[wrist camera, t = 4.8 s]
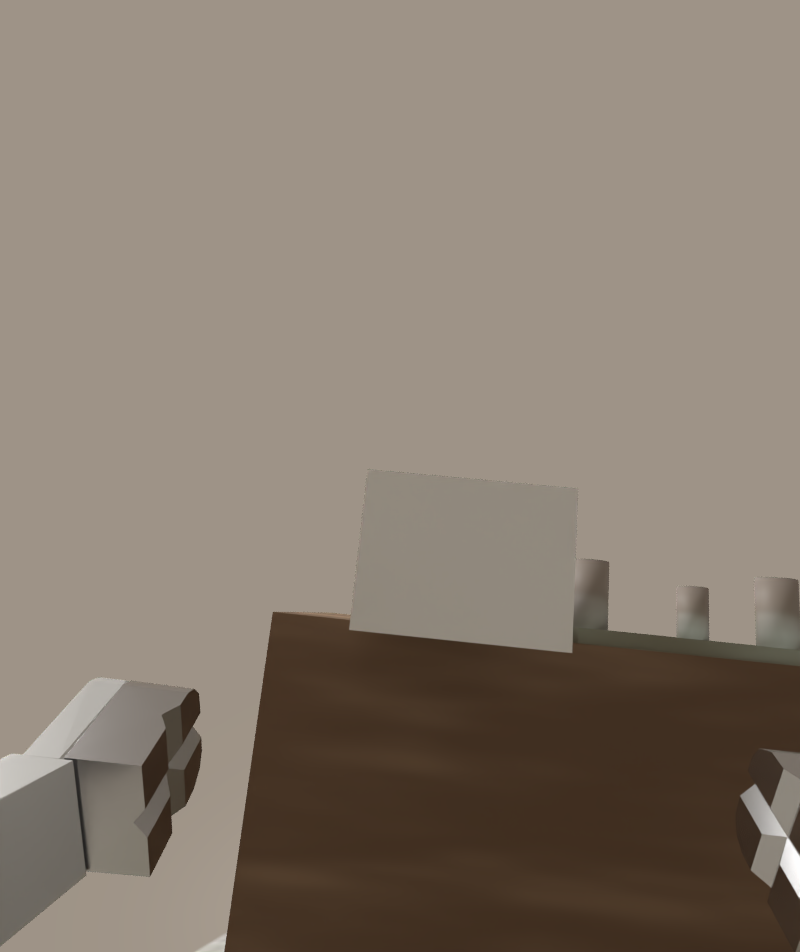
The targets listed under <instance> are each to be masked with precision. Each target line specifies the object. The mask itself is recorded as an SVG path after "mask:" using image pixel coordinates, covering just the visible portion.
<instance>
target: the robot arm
mask: <svg viewBox="0 0 800 952" xmlns="http://www.w3.org/2000/svg"><path fill="white" fill-rule="evenodd" d="M199 714H200V702H199V693H198V692H197V691H196V690H195V689H191V688H183V687H175V686H168V685H160V684H152V683H144V682H137V681H130V682H129V681H125V680H117V679H109V678H100V677H99V678H96V679H93V680H91V681H89V682H88V683H87V684H86V685H85V686H84V688H83V689H82V690H81V691H80V692H79V693H78V694H77V695H76V696H75V697H74V698H73V700H72V701H71V702H70V703H69V704H68V705H67V706H66V707H65V708H64V709H63V711H62V712H61V713H60V714H59V715H58V716H57V717H56V718H55V719H54V721H53V722H52V723H51V724H50V725H49V726H48V727H47V728H46V729H45V731H44V732H43V733H42V734H41V735H40V736H39V737H38V738H37V739H36V741H35V742H34V743H33V744H32V745H31V746H30V747H29V748H28V749H27V750H26V752H25V753H24V754H23V755H21V754H10V755H8V756H6V757H4V758H2V759H0V946H1V945H2V944H4V943H5V942H6V941H7V940H9V939H10V938H11V937H12V936H13V935H15V934H16V933H17V932H18V931H19V930H21V929H22V928H23V927H24V926H25V925H27V924H28V923H29V922H30V921H32V920H33V919H34V918H35V917H36V916H38V915H39V914H40V913H41V912H43V911H44V910H45V909H46V908H47V907H49V906H50V905H51V904H52V903H53V902H54V901H56V900H57V899H58V898H60V897H61V896H62V895H63V894H64V893H66V892H67V891H68V890H69V889H70V888H71V887H73V886H74V885H75V884H76V883H78V882H79V881H80V880H81V879H83V878H84V877H85V876H86V871H88V872H101V873H111V874H123V875H135V876H146V877H150V876H151V874H152V872H153V870H154V868H155V866H156V864H157V862H158V860H159V858H160V856H161V854H162V852H163V850H164V848H165V846H166V844H167V842H168V840H169V838H170V836H171V834H172V822H171V816H172V815H173V814H175V813H176V812H178V811H179V810H180V809H182V808H183V807H185V806H186V804H187V802H188V800H189V798H190V795H191V793H192V791H193V789H194V786H195V782H196V779H197V776H198V772H199V768H200V761H201V752H202V749H201V748H202V747H201V736H200V735H199V734H198V733H197V731H196V730H195V729H194V727H193V725H194V723H195V721H196V719H197V717H198V716H199ZM748 772H749V774H750V776H751V778H752V780H753V782H754V783H755V785H753V786H752V787H751V788H749V789H748V790H747V791H745V792H744V793H743V794H742V795H740V798H739V802H738V806H737V810H736V814H735V819H736V833H737V839H738V842H739V845H740V848H741V852H742V854H743V856H744V858H745V860H746V862H747V864H748V866H749V868H750V870H751V871H752V872H753V873H754V874H756V875H757V876H758V877H759V878H760V879H761V880H763V881H764V882H765V883H766V884H767V885H769V886H770V887H771V888H770V892H769V897H768V901H767V902H768V904H769V906H770V908H771V910H772V912H773V914H774V916H775V918H776V919H777V921H778V923H779V925H780V927H781V929H782V931H783V933H784V934H785V936H786V938H787V940H788V942H789V944H790V946H791V948H792V950H793V951H794V952H800V752H791V751H781V750H771V749H761V748H759V750H758V751H757V752H756V753H755V754H754V755H753V756H752V759H751V762H750V765H749V768H748Z"/></svg>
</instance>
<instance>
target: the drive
mask: <svg viewBox="0 0 800 952" xmlns="http://www.w3.org/2000/svg"><path fill="white" fill-rule="evenodd" d="M577 505H578V488H567V487H556V486H546V485H534V484H524V483H513V482H502V481H491V480H480V479H470V478H459V477H458V478H457V477H448V476H436V475H426V474H415V473H404V472H393V471H382V470H371V469H368V470H367V478H366V487H365V495H364V504H363V513H362V522H361V531H360V540H359V548H358V556H357V565H356V574H355V583H354V591H353V600H352V609H351V617H350V626H349V630H355V631H364V632H374V633H384V634H393V635H403V636H412V637H422V638H432V639H441V640H451V641H460V642H470V643H480V644H489V645H499V646H508V647H518V648H528V649H537V650H547V651H556V652H566V653H572V645H573V617H574V589H575V561H576V533H577Z"/></svg>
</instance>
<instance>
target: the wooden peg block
mask: <svg viewBox="0 0 800 952" xmlns="http://www.w3.org/2000/svg"><path fill="white" fill-rule="evenodd" d="M754 587H755V621H756V646H754V645H744V644H735V643H725V642H715V641H709V591H708V590H709V589H708V588H704V587H695V586H677V638H675V637H666V636H656V635H647V634H637V633H627V632H617V631H608V590H609V562H607V561H602V560H594V559H576V561H575V589H574V617H573V645H572V653H566V652H556V651H547V650H537V649H528V648H518V647H508V646H499V645H489V644H480V643H470V642H460V641H451V640H441V639H432V638H422V637H412V636H403V635H393V634H384V633H374V632H364V631H355V630H349V626H350V617H351V615H347V614H337V613H306V612H273V615H272V622H271V630H270V636H269V643H268V650H267V657H266V664H265V671H264V678H263V685H262V693H261V699H260V706H259V714H258V720H257V727H256V734H255V741H254V748H253V755H252V762H251V769H250V776H249V783H248V790H247V797H246V804H245V811H244V819H243V826H242V833H241V839H240V846H239V853H238V860H237V868H236V875H235V882H234V888H233V895H232V902H231V909H230V916H229V923H228V930H227V937H226V944H225V951H224V952H794V951H793V950H792V948H791V946H790V944H789V942H788V940H787V938H786V936H785V934H784V933H783V931H782V929H781V927H780V925H779V923H778V921H777V919H776V918H775V916H774V914H773V912H772V910H771V908H770V906H769V904H768V902H767V901H768V897H769V892H770V888H771V887H770V886H769V885H767V884H766V883H765V882H764V881H763V880H761V879H760V878H759V877H758V876H757V875H756V874H754V873H753V872H752V871H751V870H750V868H749V866H748V864H747V862H746V860H745V858H744V856H743V854H742V852H741V848H740V845H739V842H738V839H737V833H736V819H735V814H736V810H737V806H738V802H739V798H740V795H742V794H743V793H744V792H745V791H747V790H748V789H749V788H751V787H752V786H753V785H755V783H754V782H753V780H752V778H751V776H750V774H749V772H748V768H749V765H750V762H751V759H752V756H753V755H754V754H755V753H756V752H757V751H758V750H759V748H761V749H771V750H781V751H791V752H800V607H799V584H798V580H796V579H790V578H777V577H757V578H754Z"/></svg>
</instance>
